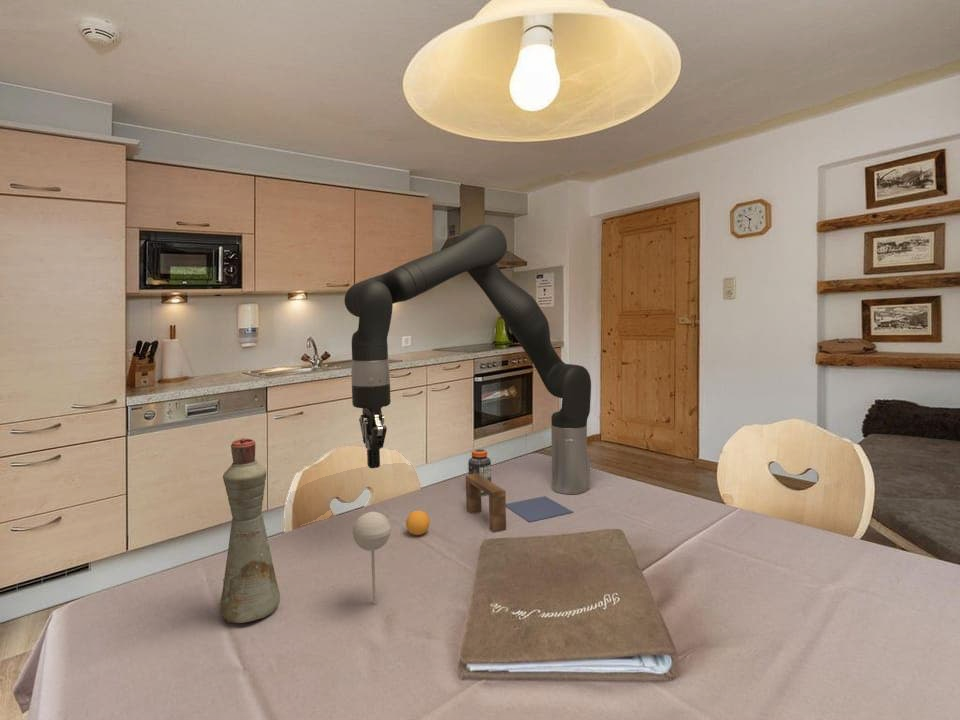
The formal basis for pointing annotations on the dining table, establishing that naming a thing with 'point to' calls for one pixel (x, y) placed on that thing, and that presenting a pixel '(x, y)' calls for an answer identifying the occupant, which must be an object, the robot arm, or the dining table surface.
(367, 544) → the lollipop
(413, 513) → the ball
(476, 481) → the bridge
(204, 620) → the dining table surface
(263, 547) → the bottle
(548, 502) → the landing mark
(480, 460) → the pill bottle
